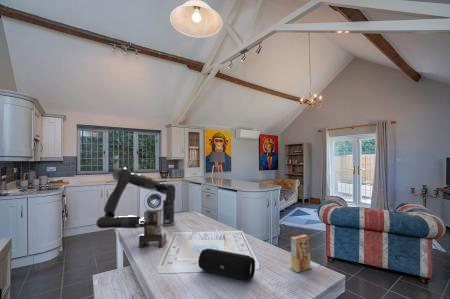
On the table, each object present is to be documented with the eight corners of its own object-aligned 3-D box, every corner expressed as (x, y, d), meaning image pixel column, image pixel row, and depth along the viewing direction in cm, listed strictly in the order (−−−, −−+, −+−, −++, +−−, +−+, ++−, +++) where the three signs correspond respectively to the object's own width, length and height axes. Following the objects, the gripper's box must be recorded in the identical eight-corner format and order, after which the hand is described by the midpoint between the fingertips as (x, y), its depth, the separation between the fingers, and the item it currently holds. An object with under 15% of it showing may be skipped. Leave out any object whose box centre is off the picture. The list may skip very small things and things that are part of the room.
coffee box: (161, 234, 140) (161, 209, 140) (157, 238, 133) (157, 212, 134) (148, 234, 141) (148, 209, 141) (143, 237, 134) (143, 211, 135)
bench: (145, 241, 142) (145, 229, 142) (166, 241, 142) (166, 229, 142) (138, 247, 132) (139, 235, 132) (161, 247, 132) (161, 234, 132)
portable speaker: (197, 273, 101) (197, 252, 102) (207, 264, 110) (207, 244, 111) (249, 286, 91) (249, 262, 91) (255, 274, 100) (255, 252, 100)
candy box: (304, 264, 109) (303, 233, 109) (311, 268, 105) (310, 236, 106) (291, 268, 105) (290, 236, 105) (297, 272, 101) (296, 239, 102)
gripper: (125, 219, 130) (152, 219, 130) (135, 213, 145) (160, 213, 145) (125, 231, 130) (152, 231, 130) (135, 224, 144) (159, 224, 144)
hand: (156, 221), depth 137 cm, fingers closed on coffee box, 6 cm apart
